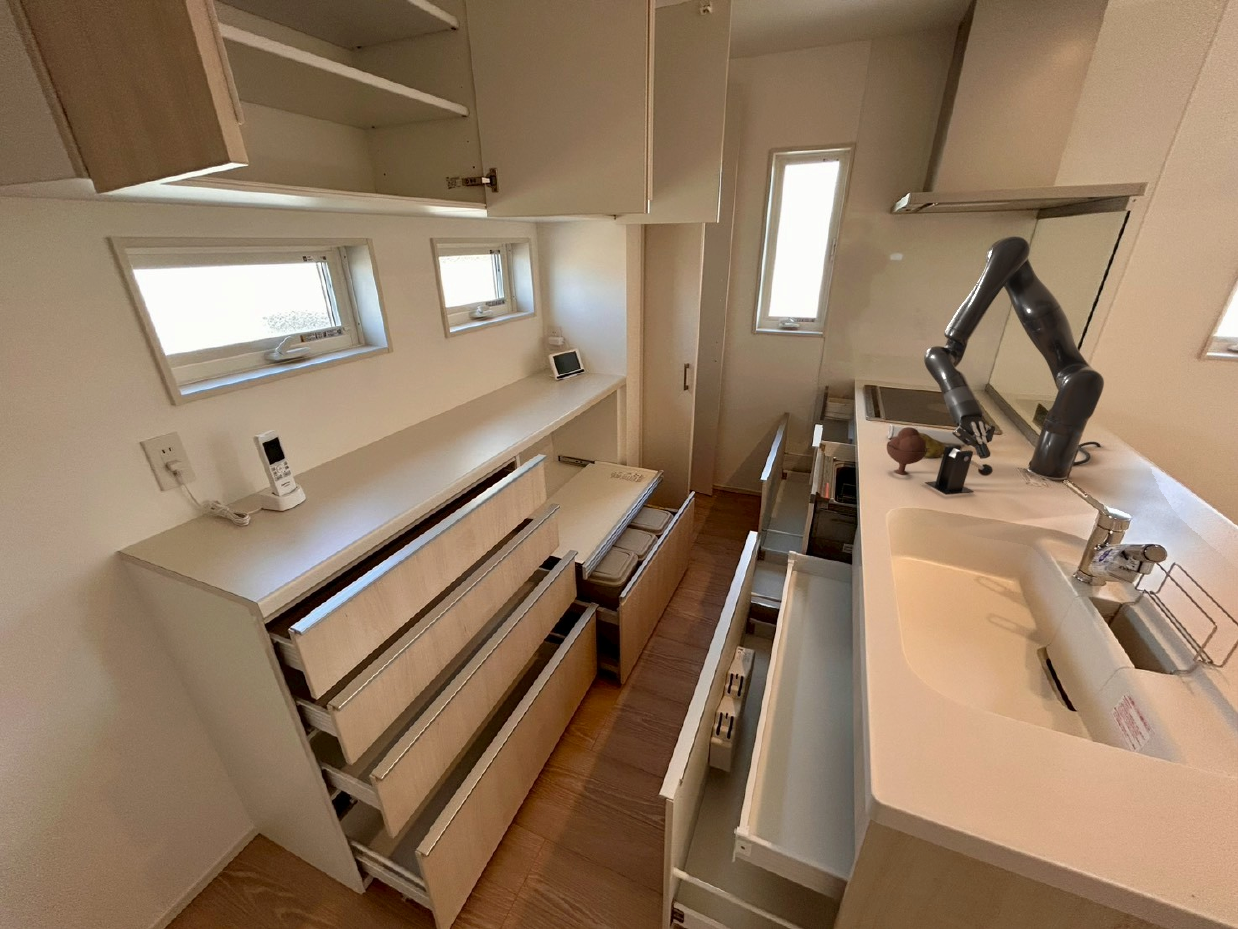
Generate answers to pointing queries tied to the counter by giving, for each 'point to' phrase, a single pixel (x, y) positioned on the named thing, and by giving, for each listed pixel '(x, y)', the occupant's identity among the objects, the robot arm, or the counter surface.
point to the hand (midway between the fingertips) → (985, 457)
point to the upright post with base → (953, 472)
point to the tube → (939, 435)
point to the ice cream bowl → (906, 448)
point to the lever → (976, 465)
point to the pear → (933, 446)
